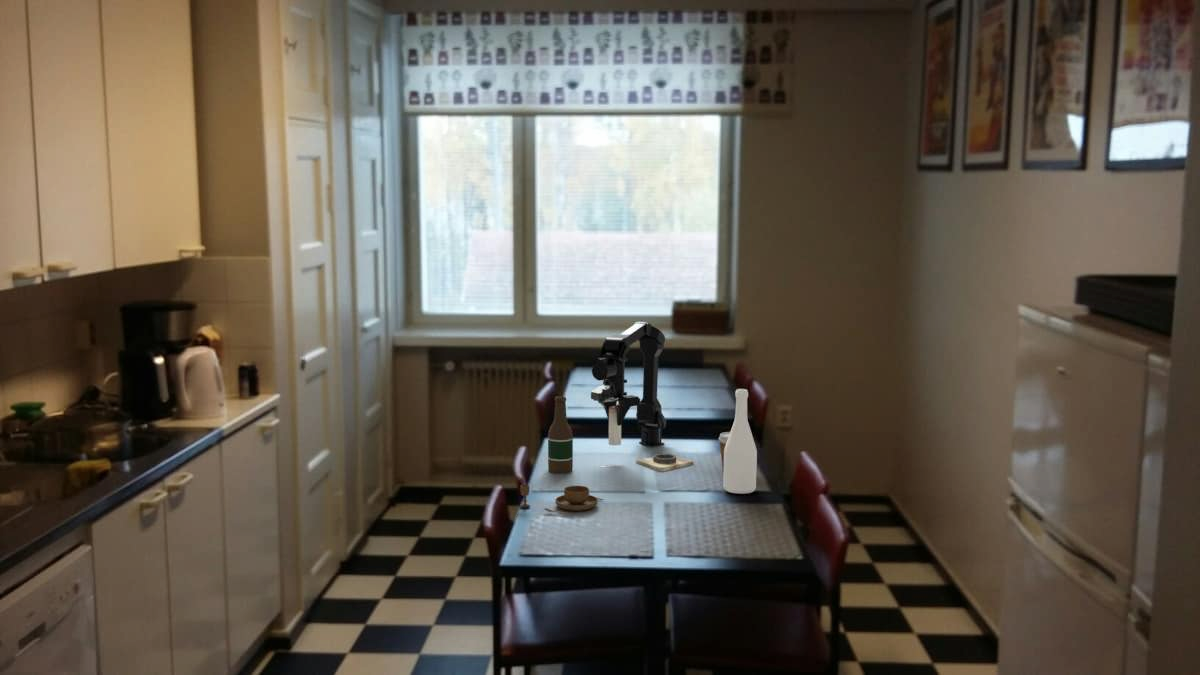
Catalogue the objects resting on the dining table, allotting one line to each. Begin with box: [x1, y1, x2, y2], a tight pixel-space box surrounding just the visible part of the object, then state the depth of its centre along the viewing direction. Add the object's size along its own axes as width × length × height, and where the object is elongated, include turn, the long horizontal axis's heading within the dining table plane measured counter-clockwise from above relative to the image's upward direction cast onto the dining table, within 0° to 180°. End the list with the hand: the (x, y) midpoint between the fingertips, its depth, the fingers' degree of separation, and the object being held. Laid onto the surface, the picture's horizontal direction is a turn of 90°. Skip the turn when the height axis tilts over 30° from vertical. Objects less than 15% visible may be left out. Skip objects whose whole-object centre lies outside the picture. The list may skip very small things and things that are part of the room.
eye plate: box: [635, 453, 694, 472], centre depth 325 cm, size 14×12×3 cm
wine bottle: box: [722, 388, 758, 495], centre depth 295 cm, size 10×10×30 cm
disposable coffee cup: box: [718, 431, 731, 473], centre depth 316 cm, size 10×10×12 cm
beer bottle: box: [547, 395, 574, 475], centre depth 315 cm, size 8×8×24 cm
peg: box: [608, 406, 622, 446], centre depth 325 cm, size 4×4×12 cm
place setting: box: [519, 484, 604, 516], centre depth 283 cm, size 18×20×6 cm
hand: (614, 424), depth 325 cm, fingers closed on peg, 4 cm apart
